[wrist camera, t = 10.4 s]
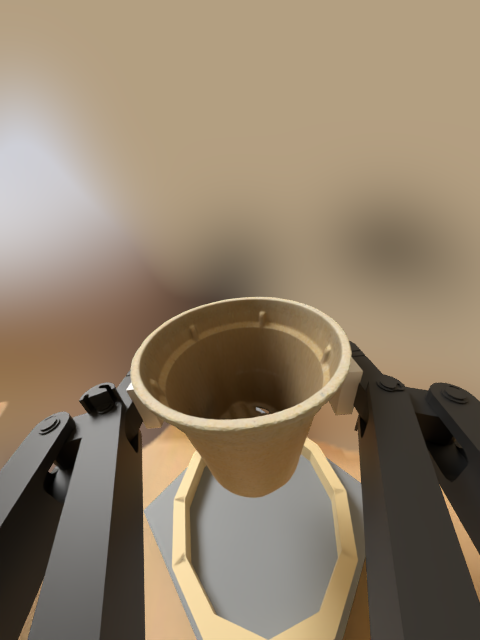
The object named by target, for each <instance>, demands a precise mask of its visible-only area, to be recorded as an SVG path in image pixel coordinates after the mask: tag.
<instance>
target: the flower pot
mask: <svg viewBox="0 0 480 640" xmlns="http://www.w3.org/2000/svg"><path fill="white" fill-rule="evenodd" d="M351 355H352V351H351V346H350V342H349V340H348V338H347V336H346V334H345V332H344V331H343V329H342V328H341V327H340V326H339V324H338V323H336V321H335V320H333V319H332V318H331V317H329V316H328V315H326V314H325V313H323V312H321V311H320V310H318V309H316V308H313V307H311V306H308V305H306V304H303V303H300V302H296V301H291V300H286V299H279V298H273V297H272V298H270V297H247V298H234V299H228V300H222V301H217V302H213V303H209V304H206V305H202V306H200V307H196V308H193V309H190V310H188V311H186V312H183V313H181V314H180V315H177V316H176V317H173V318H171V319H170V320H168V321H166V322H165V323H164V324H162V325H161V326H160V327H159V328H157V329H156V330H155V331H153V332H152V333H151V334H150V335H149V336H148V337H147V338H146V339H145V341H144V342H143V343H142V345H141V347H140V348H139V349H138V351H137V352H136V354H135V357H134V358H133V360H132V365H131V372H130V374H131V375H130V377H131V383H132V386H133V389H134V392H135V393H136V395H137V396H138V398H139V399H140V401H141V402H142V403H143V404H144V406H145V407H146V408H147V409H148V410H149V411H151V412H152V413H153V414H154V415H156V416H157V417H158V418H160V419H162V420H163V421H165V422H167V423H169V424H171V425H173V426H176V427H177V428H178V429H179V430H181V431H182V432H184V433H185V434H186V435H187V437H188V438H189V440H190V441H191V443H192V444H193V446H194V447H195V449H196V450H197V452H198V453H199V455H200V456H201V457H202V459H203V461H204V462H205V464H206V465H207V467H208V468H209V470H210V471H211V473H212V475H213V476H214V478H215V479H216V480H217V481H218V483H219V484H220V485H221V486H223V487H224V488H225V489H227V490H228V491H230V492H231V493H234V494H236V495H239V496H243V497H249V498H258V497H263V496H265V495H268V494H270V493H272V492H274V491H276V490H277V489H279V488H281V487H282V486H283V485H285V484H286V483H287V482H288V481H289V480H290V479H291V477H292V475H293V474H294V472H295V470H296V468H297V465H298V462H299V458H300V455H301V452H302V449H303V446H304V443H305V441H306V438H307V435H308V432H309V429H310V426H311V424H312V421H313V418H314V416H315V414H316V413H317V412H318V411H319V410H320V409H321V407H322V406H323V405H324V404H326V403H327V402H328V401H329V400H330V399H331V398H332V397H333V396H334V395H335V394H336V393H337V392H338V390H339V389H340V387H341V386H342V384H343V383H344V381H345V379H346V377H347V375H348V372H349V369H350V365H351ZM256 407H257V408H262V409H266V410H268V411H269V414H267V413H261V412H260V411H257V410H256Z"/></svg>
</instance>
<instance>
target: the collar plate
mask: <svg viewBox="0 0 480 640" xmlns="http://www.w3.org/2000/svg"><path fill="white" fill-rule="evenodd" d="M256 410H257V411H260V412H261V413H265V412H264V411H262V410H261V409H259V408H257V407H256ZM144 513H145V516H146V518H147V521H148V523H149V525H150V528H151V530H152V533H153V535H154V537H155V540H156V542H157V545H158V547H159V549H160V552H161V554H162V557H163V559H164V561H165V564H166V566H167V569H168V571H169V574H170V576H171V578H172V581H173V583H174V586H175V588H176V590H177V593H178V595H179V598H180V600H181V602H182V605H183V607H184V610H185V612H186V614H187V617H188V619H189V622H190V624H191V626H192V629H193V631H194V634H195V636H196V639H197V640H343V637H344V633H345V629H346V626H347V622H348V618H349V615H350V611H351V608H352V604H353V600H354V597H355V593H356V590H357V586H358V582H359V579H360V575H361V572H362V568H363V564H364V561H365V557H366V553H365V537H364V520H363V504H362V488H361V483H360V482H359V481H357V480H356V479H355V478H353V477H352V476H350V475H349V474H348V473H346V472H345V471H344V470H342V469H341V468H340V467H338V466H337V465H336V464H334V463H333V462H331V461H330V460H329V459H327V458H326V457H325V456H324V454H323V452H322V451H321V449H320V448H319V446H318V445H317V444H315V443H314V442H313V441H311V440H310V439H308V438H306V441H305V443H304V446H303V449H302V452H301V455H300V458H299V462H298V465H297V468H296V470H295V472H294V474H293V475H292V477H291V479H290V480H289V481H288V482H287V483H286V484H285V485H283V486H282V487H281V488H279V489H277V490H276V491H274V492H272V493H270V494H268V495H265V496H263V497H258V498H249V497H243V496H239V495H236V494H234V493H231V492H230V491H228V490H227V489H225V488H224V487H223V486H221V485H220V484H219V483H218V481H217V480H216V479H215V478H214V476H213V475H212V473H211V471H210V470H209V468H208V467H207V465H206V464H205V462H204V461H203V459H202V457H201V456H200V455H199V453H198V452H197V451H196V452H194V454H193V456H192V458H191V461H190V463H189V465H188V467H187V468H186V469H185V470H184V471H183V472H182V473H181V474H180V475H179V476H178V477H177V478H176V479H175V480H174V481H173V482H172V483H171V484H170V485H169V486H168V487H167V488H166V489H165V490H164V491H163V492H162V493H161V494H160V495H159V496H158V497H157V498H156V499H155V500H154V501H153V502H152V503H151V504H150V505H149V506H148V507H147V508H146V509H145V510H144Z"/></svg>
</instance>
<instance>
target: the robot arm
mask: <svg viewBox="0 0 480 640" xmlns="http://www.w3.org/2000/svg"><path fill="white" fill-rule="evenodd" d="M349 342H350V346H351V351H352V355H351V365H350V369H349V372H348V375H347V377H346V379H345V381H344V383H343V384H342V386H341V387H340V389H339V390H338V392H337V393H336V394H335V395H334V396H333V397H332V398H331V399H330V400H329V402H330V404H331V406H332V408H333V411H334V413H335V415H345V414H352V412H353V408H354V407H355V408H356V410H357V411H358V413H359V415H358V419H357V423H356V426H355V430H356V431H357V430H358V437H359V455H360V471H361V488H362V504H363V520H364V537H365V553H366V569H367V586H368V602H369V618H370V635H371V640H480V603H479V600H478V597H477V594H476V591H475V588H474V585H473V582H472V579H471V576H470V573H469V570H468V567H467V564H466V561H465V558H464V555H463V553H462V550H461V547H460V544H459V541H458V538H457V535H456V532H455V529H454V526H453V523H452V520H451V517H450V514H449V511H448V508H447V505H446V503H445V500H444V497H443V494H442V491H441V488H442V489H443V491H444V493H445V495H446V496H447V498H448V500H449V502H450V503H451V505H452V507H453V509H454V510H455V512H456V514H457V516H458V517H459V519H460V521H461V523H462V524H463V526H464V528H465V530H466V531H467V533H468V535H469V537H470V538H471V540H472V542H473V544H474V545H475V547H476V549H477V551H478V552H479V554H480V402H479V401H478V400H477V399H476V398H475V397H474V396H472V394H470V393H469V392H467V391H466V390H464V389H462V388H460V387H457V386H454V385H451V384H447V383H434V384H432V385H431V386H430V388H429V390H428V391H427V390H421V389H415V388H409V387H405V386H404V384H402V383H401V382H400V381H399V380H397V379H395V378H393V377H390V376H387V375H383V374H382V373H381V372H380V371H379V370H378V369H377V367H376V366H375V365H374V364H373V363H372V362H371V361H370V360H369V359H368V358H367V357H366V356H365V355H364V353H363V352H362V351H361V350H360V349H359V348H358V347H357V346H356V345H355V344H354V343H352V342H351V341H349ZM130 372H131V369H130V371H129V372H128V374H127V375H126V377H125V378H124V379H123V381H122V382H121V383H120V385H119V386H118V388H117V389H116V387H115V386H114V384H112V383H102V384H99V385H97V386H94V387H92V388H91V389H90V390H88V391H87V392H86V393H85V394H84V395H82V397H81V398H80V400H79V402H80V403H81V404H82V406H83V407H84V408H85V410H86V411H87V413H85V414H82V415H79V416H76V417H74V418H72V417H71V416H70V415H69V413H67V412H59V413H56V414H53V415H51V416H49V417H47V418H46V419H44V420H43V421H41V422H40V423H39V424H37V426H36V427H35V428H34V429H33V430H32V431H31V433H29V435H28V436H27V437H26V439H25V440H24V441H23V442H22V444H21V445H20V446H19V447H18V449H17V450H16V451H15V453H14V454H13V455H12V457H11V458H10V459H9V460H8V462H7V463H6V464H5V466H4V467H3V468H2V469H1V471H0V640H18V638H19V635H20V633H21V631H22V628H23V626H24V623H25V621H26V619H27V616H28V614H29V612H30V609H31V607H32V605H33V602H34V600H35V598H36V595H37V593H38V590H39V588H40V586H41V583H42V581H43V584H42V588H41V591H40V595H39V599H38V603H37V606H36V610H35V614H34V617H33V621H32V625H31V629H30V632H29V636H28V640H145V604H144V544H143V483H142V435H141V431H140V430H139V428H140V426H141V424H142V422H144V424H145V426H146V428H160V427H162V425H163V422H164V421H163V420H162V419H160V418H158V417H157V416H156V415H154V414H153V413H152V412H151V411H149V410H148V409H147V408H146V407H145V406H144V404H143V403H142V402H141V401H140V399H139V398H138V396H137V395H136V393H135V392H134V389H133V386H132V383H131V377H130V375H131V374H130ZM53 463H54V464H55V465H56V467H55V468H54V470H53V471H52V472H51V473H49V472H48V470H49V469H50V467H51V466H52V464H53ZM439 484H440V485H439ZM440 486H441V488H440ZM44 576H45V577H44ZM43 579H44V580H43Z"/></svg>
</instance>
